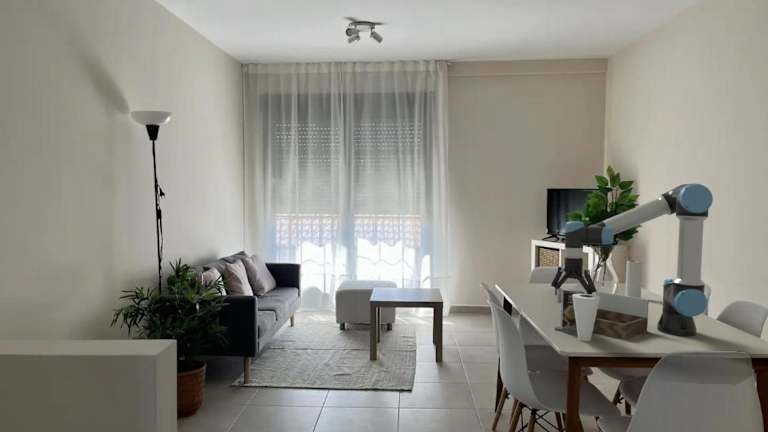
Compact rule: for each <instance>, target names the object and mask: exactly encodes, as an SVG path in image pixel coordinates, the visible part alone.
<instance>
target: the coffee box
mask: <svg viewBox="0 0 768 432" xmlns="http://www.w3.org/2000/svg"><path fill="white" fill-rule="evenodd" d="M573 294H585V292H584V291H578V290H577V291H576V290H564V289H562V296H561V311H560V326H561V328H562V329H568V330H577V324H576V318H575V311H574V310H575V309H574V304H573V296H572V295H573Z"/></svg>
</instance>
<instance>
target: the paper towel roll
mask: <svg viewBox="0 0 768 432" xmlns="http://www.w3.org/2000/svg"><path fill="white" fill-rule="evenodd" d="M625 269H626V271H625V295H624V296H629V297H635V298H642V297H641V296H642V275H643V273H642V271H643V261H637V260H626V268H625Z"/></svg>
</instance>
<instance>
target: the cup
mask: <svg viewBox="0 0 768 432" xmlns="http://www.w3.org/2000/svg"><path fill="white" fill-rule="evenodd" d="M572 296H573V304H574V309H575V310H574V311H575V318H576V324H577V333H578V334H577V339H578V340H579V341H582V342H591V341H592V336H593V333H594V332H593V328H594V327H593V326H594V323H595V318H596V314H597V310H598V305H599V300H600V297H599V296H597V295H596V294H593V293H592V294H573V295H572Z"/></svg>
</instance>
